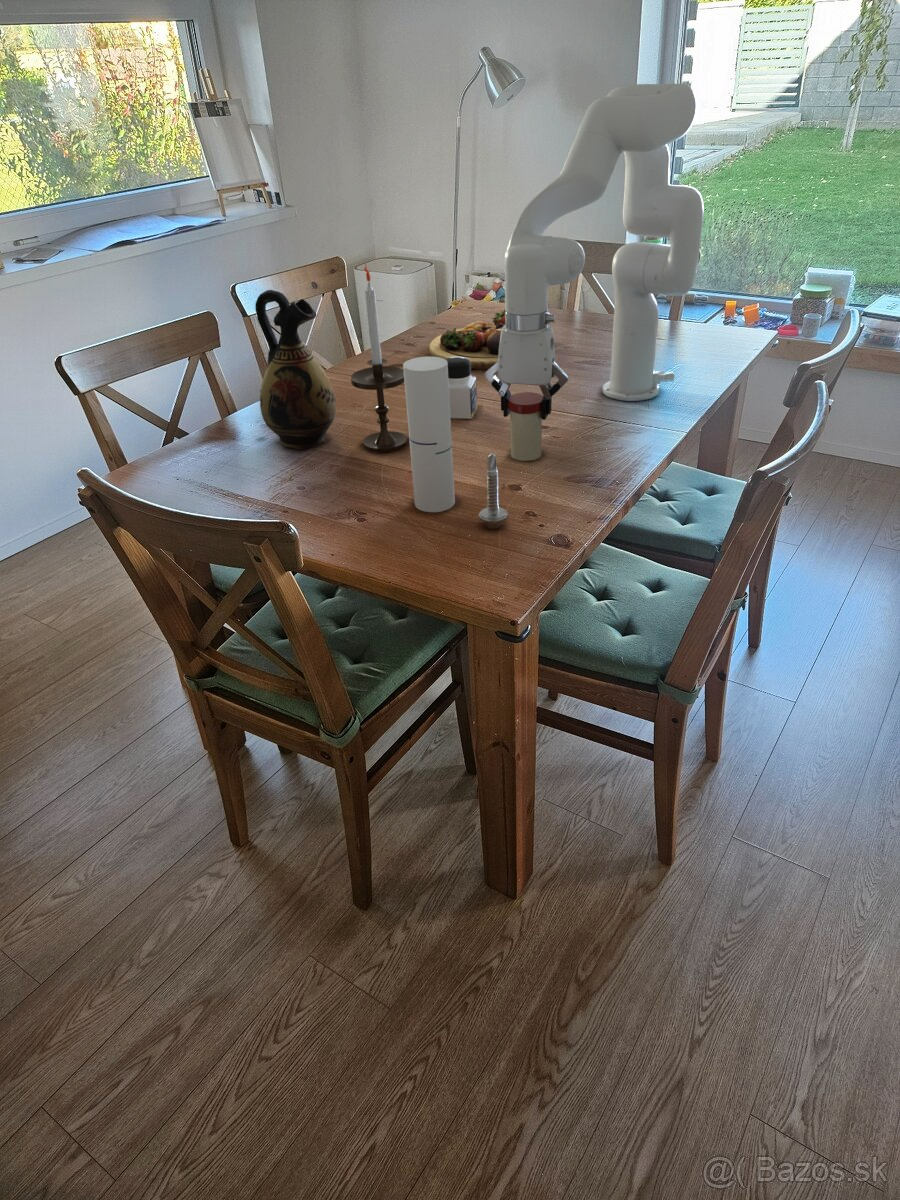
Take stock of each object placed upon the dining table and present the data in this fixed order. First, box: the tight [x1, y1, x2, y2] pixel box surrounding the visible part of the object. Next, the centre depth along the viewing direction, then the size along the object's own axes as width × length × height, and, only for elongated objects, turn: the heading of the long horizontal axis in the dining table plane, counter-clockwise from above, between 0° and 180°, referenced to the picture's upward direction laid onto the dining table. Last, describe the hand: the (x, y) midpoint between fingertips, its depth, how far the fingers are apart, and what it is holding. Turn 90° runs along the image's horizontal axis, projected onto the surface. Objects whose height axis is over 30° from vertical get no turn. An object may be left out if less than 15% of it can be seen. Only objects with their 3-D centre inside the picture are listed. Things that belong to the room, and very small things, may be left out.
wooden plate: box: [428, 308, 505, 370], centre depth 214 cm, size 32×32×8 cm
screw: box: [478, 453, 509, 530], centre depth 134 cm, size 13×5×5 cm
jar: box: [509, 411, 543, 462], centre depth 157 cm, size 6×6×11 cm
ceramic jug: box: [254, 289, 337, 450], centre depth 164 cm, size 17×15×30 cm
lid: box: [508, 391, 543, 414], centre depth 155 cm, size 7×7×2 cm
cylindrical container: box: [402, 356, 456, 513], centre depth 138 cm, size 7×7×25 cm
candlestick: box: [350, 263, 408, 454], centre depth 159 cm, size 11×11×35 cm
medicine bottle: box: [446, 356, 478, 420], centre depth 177 cm, size 7×7×12 cm
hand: (526, 415), depth 156 cm, fingers closed on lid, 6 cm apart
